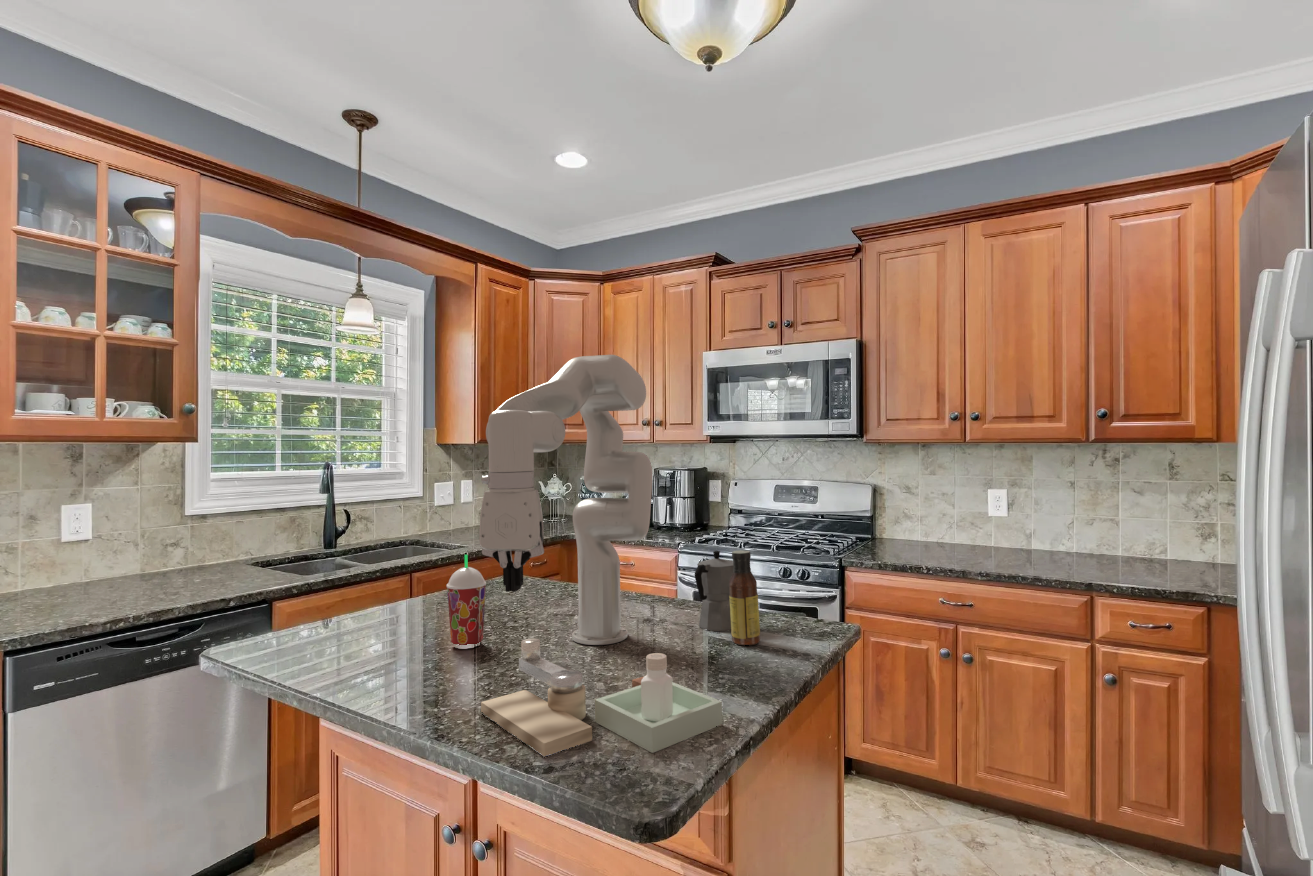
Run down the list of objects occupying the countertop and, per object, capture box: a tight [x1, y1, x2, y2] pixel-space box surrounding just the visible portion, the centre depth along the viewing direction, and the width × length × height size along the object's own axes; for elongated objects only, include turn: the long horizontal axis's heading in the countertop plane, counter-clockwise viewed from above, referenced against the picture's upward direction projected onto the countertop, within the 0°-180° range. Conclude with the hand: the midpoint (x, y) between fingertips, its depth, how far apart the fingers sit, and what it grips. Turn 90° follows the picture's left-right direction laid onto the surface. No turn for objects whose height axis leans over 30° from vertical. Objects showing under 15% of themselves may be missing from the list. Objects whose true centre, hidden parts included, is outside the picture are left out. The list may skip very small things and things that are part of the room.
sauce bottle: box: [729, 549, 761, 646], centre depth 142 cm, size 7×6×20 cm
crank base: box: [480, 676, 644, 756], centre depth 106 cm, size 20×27×4 cm
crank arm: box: [518, 637, 583, 694], centre depth 108 cm, size 16×5×5 cm, turn 40°
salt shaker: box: [641, 652, 673, 722], centre depth 101 cm, size 4×4×10 cm
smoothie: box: [446, 554, 487, 645], centre depth 143 cm, size 8×8×20 cm
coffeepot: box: [694, 550, 733, 632], centre depth 154 cm, size 15×9×18 cm, turn 142°
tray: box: [594, 681, 723, 754], centre depth 101 cm, size 14×14×4 cm
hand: (513, 589), depth 111 cm, fingers closed
